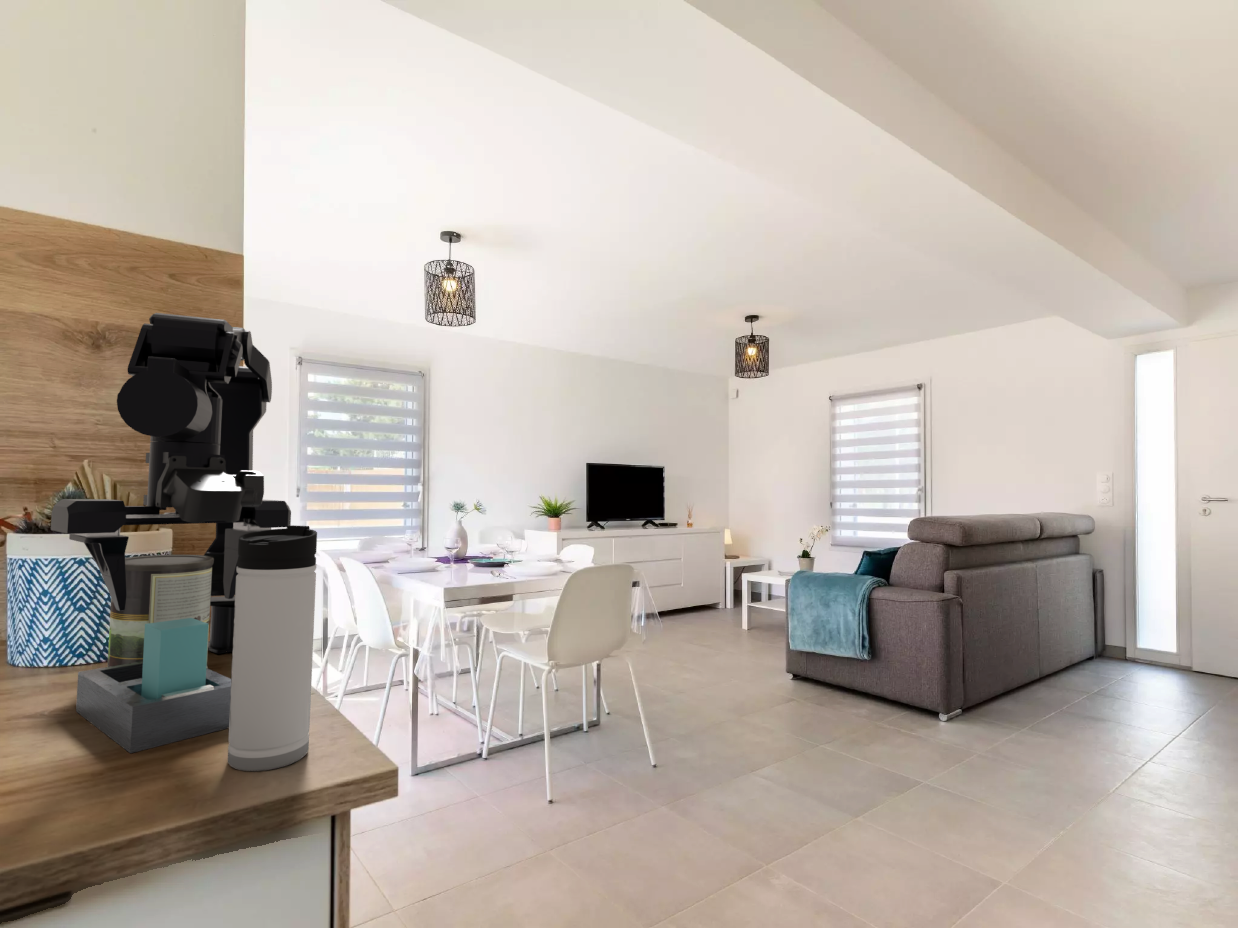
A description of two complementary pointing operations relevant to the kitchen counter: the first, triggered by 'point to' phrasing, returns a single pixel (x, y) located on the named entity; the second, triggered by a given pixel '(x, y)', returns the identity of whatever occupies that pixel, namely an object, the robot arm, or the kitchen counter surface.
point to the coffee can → (158, 600)
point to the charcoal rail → (150, 707)
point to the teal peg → (174, 657)
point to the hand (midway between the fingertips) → (177, 603)
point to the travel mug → (272, 648)
